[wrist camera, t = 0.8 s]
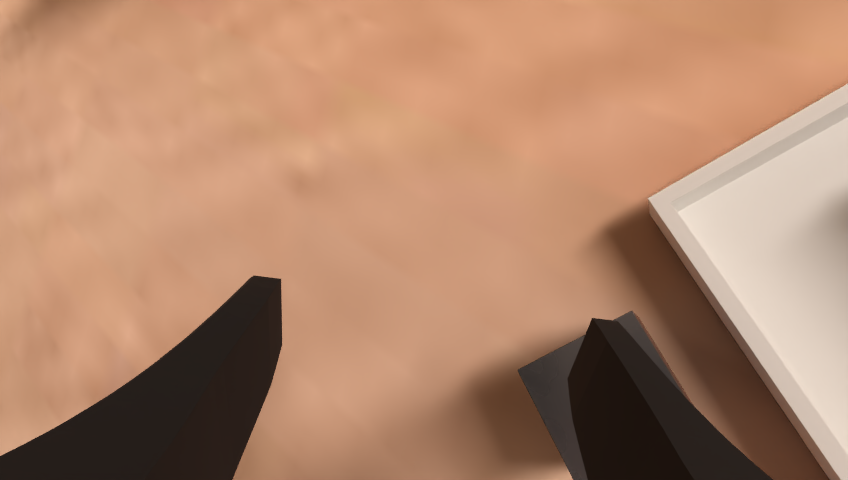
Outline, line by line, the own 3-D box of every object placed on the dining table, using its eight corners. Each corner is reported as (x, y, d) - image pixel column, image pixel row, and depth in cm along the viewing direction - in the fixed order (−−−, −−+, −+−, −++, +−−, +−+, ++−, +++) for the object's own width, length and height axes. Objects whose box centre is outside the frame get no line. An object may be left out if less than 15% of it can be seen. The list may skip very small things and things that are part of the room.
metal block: (699, 415, 22) (711, 439, 17) (600, 460, 23) (581, 495, 18) (639, 318, 24) (632, 310, 18) (549, 364, 25) (517, 369, 19)
